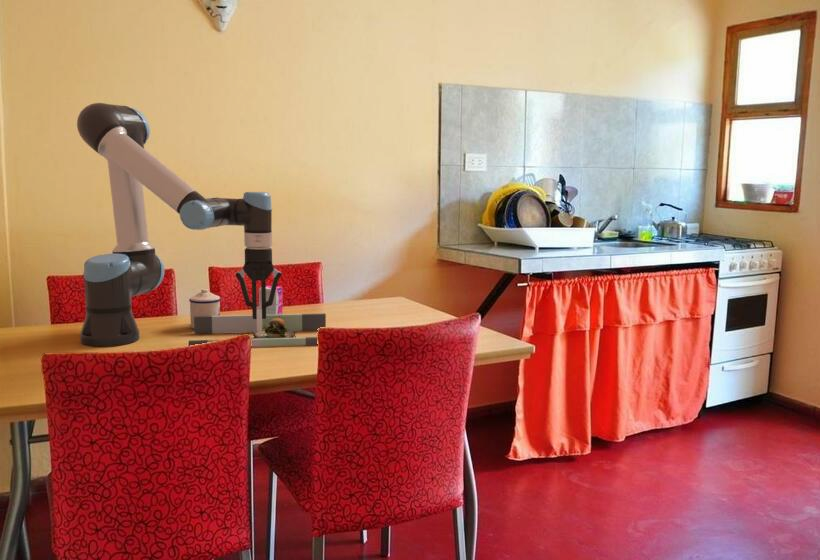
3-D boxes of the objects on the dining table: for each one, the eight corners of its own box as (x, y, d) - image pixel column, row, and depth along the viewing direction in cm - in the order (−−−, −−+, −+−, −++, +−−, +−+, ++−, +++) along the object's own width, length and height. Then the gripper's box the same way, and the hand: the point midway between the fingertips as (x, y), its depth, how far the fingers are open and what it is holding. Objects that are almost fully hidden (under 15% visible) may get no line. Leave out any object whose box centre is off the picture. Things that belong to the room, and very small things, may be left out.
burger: (245, 339, 205) (244, 313, 204) (279, 332, 213) (279, 307, 212) (270, 347, 197) (270, 320, 196) (304, 339, 205) (304, 314, 204)
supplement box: (276, 325, 221) (276, 289, 220) (258, 324, 223) (257, 288, 221) (283, 321, 227) (283, 286, 225) (265, 320, 228) (265, 285, 226)
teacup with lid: (225, 328, 216) (224, 290, 214) (195, 331, 211) (193, 292, 210) (212, 320, 226) (211, 284, 224) (183, 323, 221) (182, 286, 220)
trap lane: (188, 348, 192) (188, 330, 191) (194, 332, 210) (194, 316, 209) (331, 344, 200) (331, 327, 199) (325, 329, 218) (325, 313, 217)
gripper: (233, 249, 196) (235, 333, 199) (282, 249, 198) (283, 332, 202) (234, 246, 203) (236, 327, 207) (281, 245, 205) (282, 326, 209)
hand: (259, 330), depth 204 cm, fingers closed
